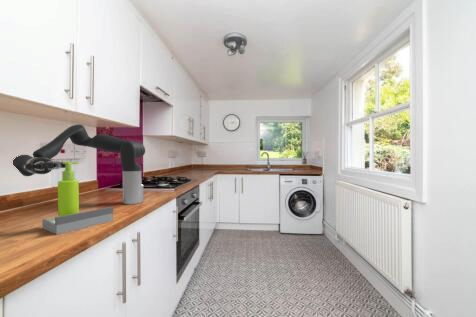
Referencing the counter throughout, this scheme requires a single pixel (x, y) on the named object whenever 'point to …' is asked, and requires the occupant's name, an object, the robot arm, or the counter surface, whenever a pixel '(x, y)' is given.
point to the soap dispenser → (68, 192)
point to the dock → (78, 220)
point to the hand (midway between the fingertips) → (54, 165)
